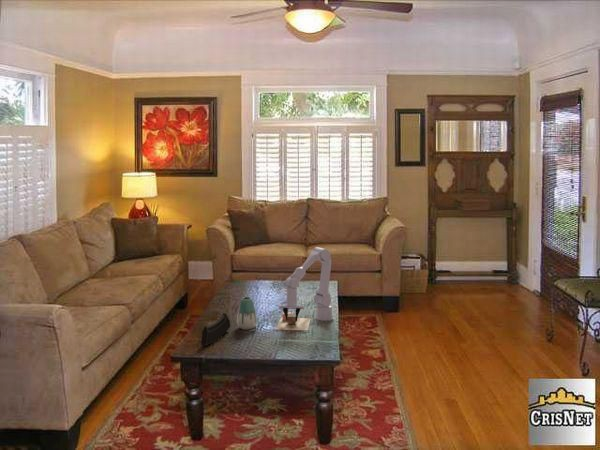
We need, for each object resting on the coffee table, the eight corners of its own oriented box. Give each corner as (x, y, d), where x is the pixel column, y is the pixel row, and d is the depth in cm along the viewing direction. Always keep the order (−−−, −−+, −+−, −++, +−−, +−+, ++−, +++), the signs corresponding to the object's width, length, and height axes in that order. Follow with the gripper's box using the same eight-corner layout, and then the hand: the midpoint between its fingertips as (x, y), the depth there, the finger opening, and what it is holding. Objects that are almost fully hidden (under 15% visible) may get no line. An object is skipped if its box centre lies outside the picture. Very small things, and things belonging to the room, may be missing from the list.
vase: (254, 331, 343) (253, 300, 341) (234, 330, 346) (233, 299, 343) (259, 325, 355) (259, 295, 352) (240, 324, 357) (239, 294, 354)
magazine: (204, 332, 313) (227, 302, 339) (198, 331, 314) (221, 301, 340) (208, 360, 320) (231, 328, 346) (203, 359, 321) (225, 327, 347)
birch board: (310, 319, 366) (310, 318, 366) (307, 332, 343) (307, 330, 342) (281, 319, 368) (281, 317, 368) (275, 331, 344) (275, 329, 344)
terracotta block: (291, 318, 366) (291, 312, 365) (290, 320, 361) (290, 314, 361) (283, 318, 366) (283, 311, 366) (282, 320, 362) (282, 313, 361)
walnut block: (296, 321, 356) (296, 314, 356) (295, 323, 352) (295, 316, 351) (288, 321, 357) (288, 314, 356) (287, 323, 352) (287, 316, 352)
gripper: (278, 299, 349) (278, 322, 351) (303, 300, 348) (303, 323, 349) (280, 296, 356) (280, 319, 358) (304, 297, 355) (304, 319, 356)
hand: (291, 320), depth 354 cm, fingers closed on walnut block, 5 cm apart
